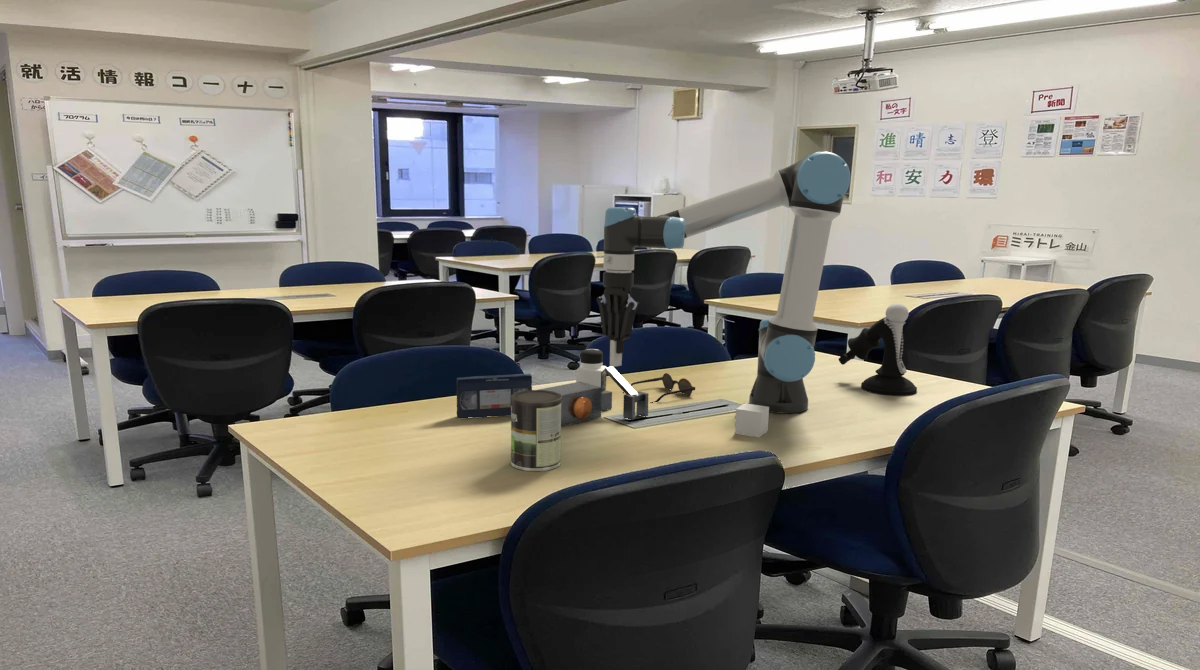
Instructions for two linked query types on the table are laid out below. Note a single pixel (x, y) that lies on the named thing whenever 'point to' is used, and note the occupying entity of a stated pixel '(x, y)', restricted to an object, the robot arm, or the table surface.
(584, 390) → the hitch block
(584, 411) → the pin
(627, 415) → the bracket
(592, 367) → the medicine bottle
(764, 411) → the white cube
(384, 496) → the table surface
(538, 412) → the coffee can
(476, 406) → the vhs cassette tape
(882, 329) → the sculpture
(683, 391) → the eyeglasses
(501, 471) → the table surface
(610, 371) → the keeper
